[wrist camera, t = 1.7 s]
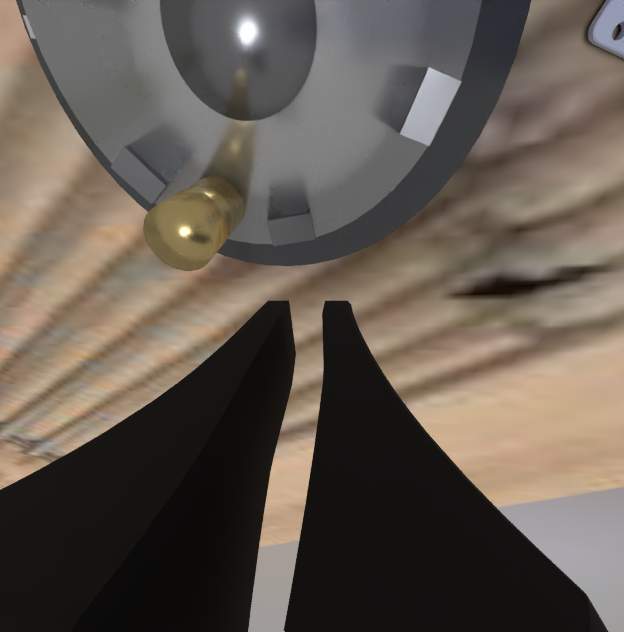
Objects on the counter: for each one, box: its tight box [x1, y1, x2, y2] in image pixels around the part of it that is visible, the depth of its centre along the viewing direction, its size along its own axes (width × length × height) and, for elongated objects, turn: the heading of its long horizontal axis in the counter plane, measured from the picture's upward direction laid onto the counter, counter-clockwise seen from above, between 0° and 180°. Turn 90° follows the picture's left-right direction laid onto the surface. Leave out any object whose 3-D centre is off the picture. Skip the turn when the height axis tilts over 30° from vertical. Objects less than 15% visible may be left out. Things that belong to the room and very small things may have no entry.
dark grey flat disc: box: [16, 0, 531, 266], centre depth 13 cm, size 20×20×1 cm
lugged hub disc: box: [22, 0, 482, 271], centre depth 10 cm, size 15×15×6 cm
